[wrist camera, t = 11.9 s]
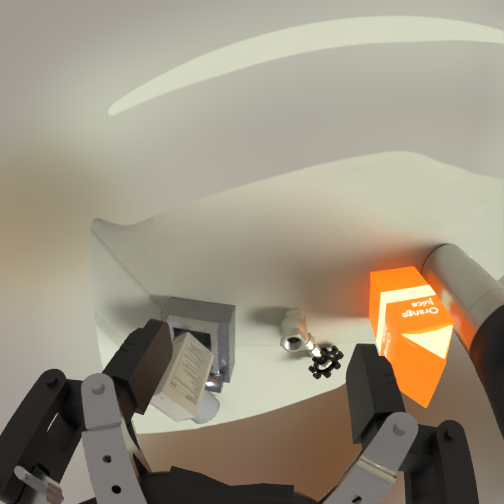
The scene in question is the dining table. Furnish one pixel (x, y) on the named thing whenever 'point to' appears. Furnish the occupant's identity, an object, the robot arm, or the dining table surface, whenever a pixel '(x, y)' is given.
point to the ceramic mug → (207, 408)
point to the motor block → (206, 333)
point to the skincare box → (183, 379)
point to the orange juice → (410, 329)
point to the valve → (307, 343)
